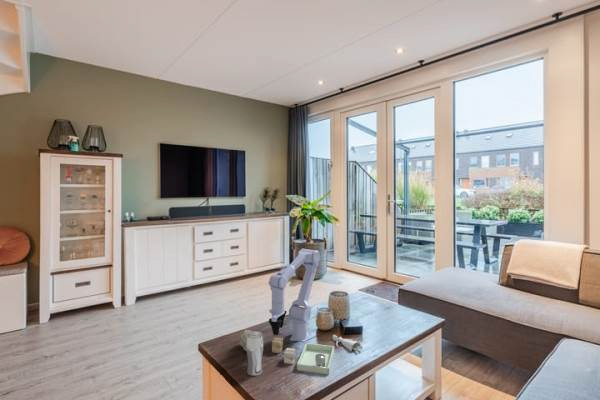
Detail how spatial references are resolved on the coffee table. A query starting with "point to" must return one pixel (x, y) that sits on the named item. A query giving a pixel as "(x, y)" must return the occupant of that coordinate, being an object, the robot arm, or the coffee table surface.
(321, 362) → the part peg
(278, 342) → the part oak
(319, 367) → the tray
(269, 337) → the coffee table surface
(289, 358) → the part birch
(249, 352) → the beer glass
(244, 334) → the fossil replica
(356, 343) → the woman figurine
